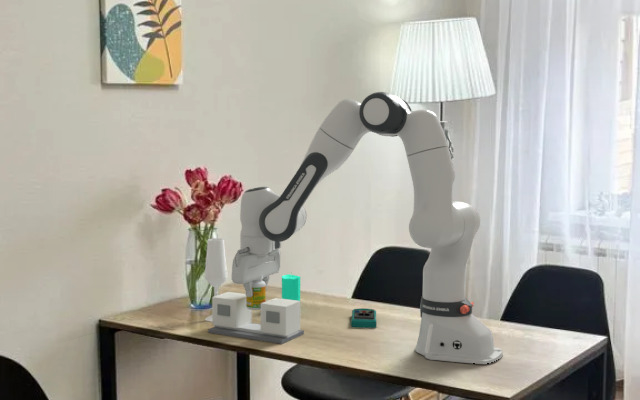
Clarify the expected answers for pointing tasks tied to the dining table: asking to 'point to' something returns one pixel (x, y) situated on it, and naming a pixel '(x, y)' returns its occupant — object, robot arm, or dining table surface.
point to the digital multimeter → (363, 318)
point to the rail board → (236, 319)
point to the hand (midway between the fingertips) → (256, 294)
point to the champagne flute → (215, 265)
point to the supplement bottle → (257, 295)
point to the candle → (291, 287)
